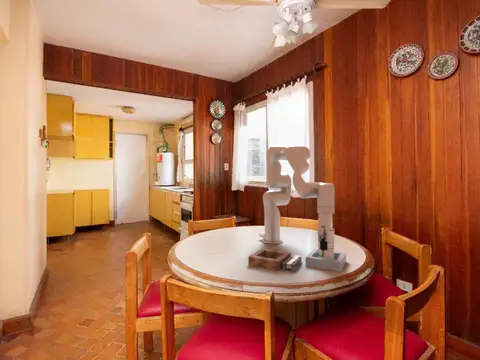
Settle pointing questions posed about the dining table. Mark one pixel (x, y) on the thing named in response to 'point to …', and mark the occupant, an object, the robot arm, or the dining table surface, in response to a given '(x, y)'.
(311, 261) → the grey square tray
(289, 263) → the key
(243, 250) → the dining table surface
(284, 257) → the socket block
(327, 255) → the syrup box
